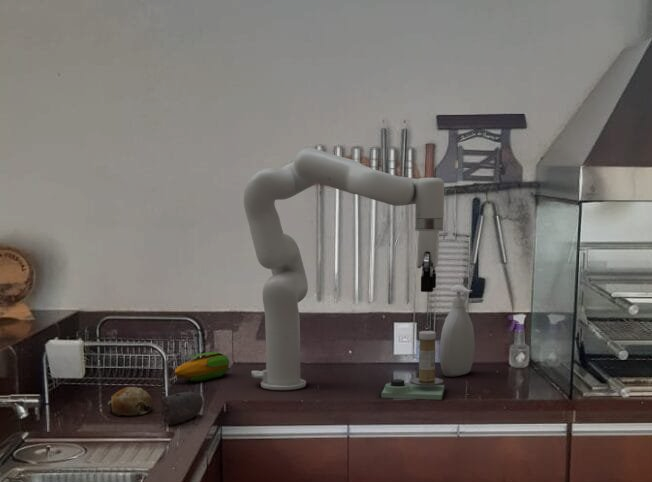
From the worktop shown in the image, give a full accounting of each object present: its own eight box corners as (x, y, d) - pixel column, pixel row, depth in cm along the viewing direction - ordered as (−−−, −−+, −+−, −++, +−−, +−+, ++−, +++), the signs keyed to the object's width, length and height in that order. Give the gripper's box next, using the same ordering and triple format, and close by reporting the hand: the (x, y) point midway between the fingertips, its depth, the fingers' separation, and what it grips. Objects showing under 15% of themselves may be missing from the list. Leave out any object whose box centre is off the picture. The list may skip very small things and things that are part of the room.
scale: (381, 398, 239) (381, 387, 238) (387, 388, 251) (387, 377, 250) (441, 400, 237) (441, 389, 236) (444, 390, 249) (444, 379, 248)
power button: (390, 387, 239) (390, 381, 239) (391, 384, 243) (391, 379, 243) (403, 387, 239) (403, 382, 239) (405, 385, 242) (405, 379, 242)
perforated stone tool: (193, 412, 221) (193, 384, 220) (211, 414, 219) (210, 387, 218) (153, 426, 208) (152, 397, 207) (172, 429, 206) (171, 399, 205)
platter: (408, 385, 241) (408, 383, 240) (412, 378, 249) (412, 376, 249) (442, 386, 240) (442, 384, 239) (444, 379, 248) (444, 377, 248)
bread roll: (129, 432, 216) (139, 404, 214) (96, 410, 219) (107, 382, 217) (154, 422, 226) (164, 395, 223) (123, 401, 228) (133, 375, 226)
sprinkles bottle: (427, 378, 248) (428, 329, 245) (438, 380, 244) (439, 331, 242) (414, 380, 245) (415, 331, 242) (425, 383, 241) (426, 333, 239)
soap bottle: (453, 380, 261) (455, 288, 256) (432, 376, 267) (434, 285, 262) (484, 373, 272) (486, 284, 267) (463, 369, 277) (465, 282, 272)
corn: (235, 349, 265) (183, 359, 248) (237, 374, 266) (185, 386, 249) (217, 348, 269) (165, 358, 253) (219, 373, 270) (167, 385, 254)
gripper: (418, 223, 246) (417, 286, 249) (412, 226, 229) (411, 293, 232) (445, 224, 245) (444, 286, 248) (441, 226, 228) (440, 293, 231)
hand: (428, 289), depth 240 cm, fingers open, 9 cm apart
